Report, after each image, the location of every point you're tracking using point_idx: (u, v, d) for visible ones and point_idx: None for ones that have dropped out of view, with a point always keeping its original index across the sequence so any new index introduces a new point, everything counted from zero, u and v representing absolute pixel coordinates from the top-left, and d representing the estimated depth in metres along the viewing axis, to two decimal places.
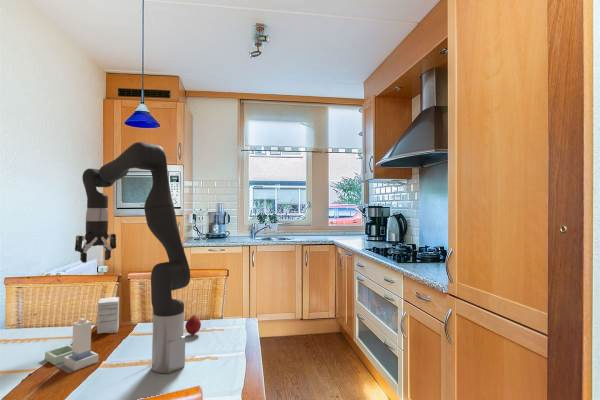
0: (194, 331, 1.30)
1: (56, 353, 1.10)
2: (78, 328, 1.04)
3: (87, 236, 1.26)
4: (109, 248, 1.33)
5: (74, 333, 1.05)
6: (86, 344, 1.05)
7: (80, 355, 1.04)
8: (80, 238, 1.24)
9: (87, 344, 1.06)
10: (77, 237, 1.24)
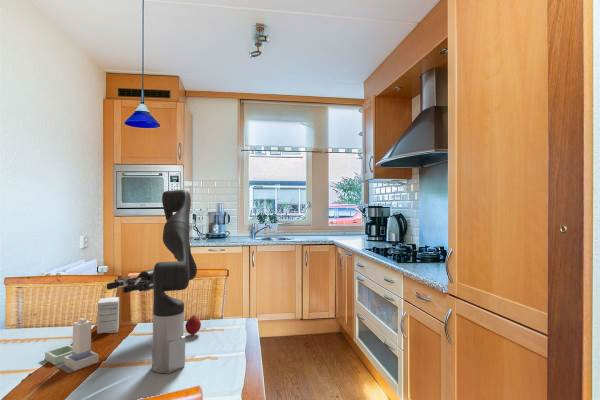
0: (194, 331, 1.30)
1: (56, 353, 1.10)
2: (78, 328, 1.04)
3: None
4: None
5: (74, 333, 1.05)
6: (86, 344, 1.05)
7: (80, 355, 1.04)
8: (127, 277, 1.27)
9: (87, 344, 1.06)
10: None
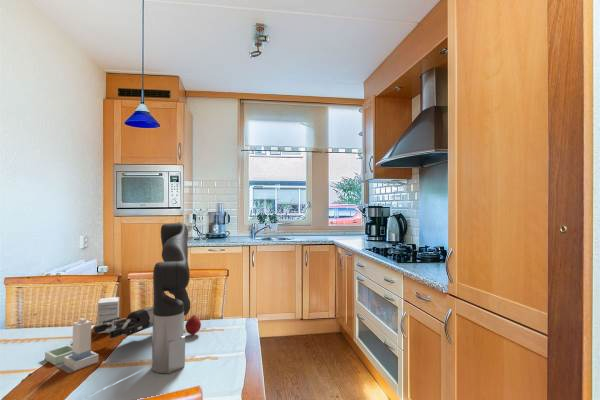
0: (194, 331, 1.30)
1: (56, 353, 1.10)
2: (78, 328, 1.04)
3: None
4: (123, 327, 1.14)
5: (74, 333, 1.05)
6: (86, 344, 1.05)
7: (80, 355, 1.04)
8: (116, 318, 1.23)
9: (87, 344, 1.06)
10: None
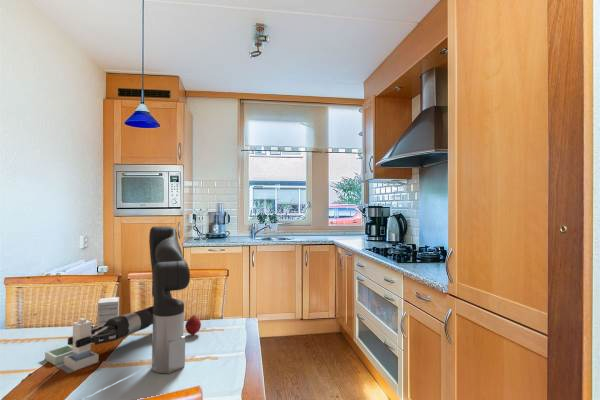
0: (194, 331, 1.30)
1: (56, 353, 1.10)
2: (78, 328, 1.04)
3: None
4: (91, 335, 1.07)
5: (74, 333, 1.05)
6: None
7: (80, 355, 1.04)
8: None
9: (87, 344, 1.06)
10: None
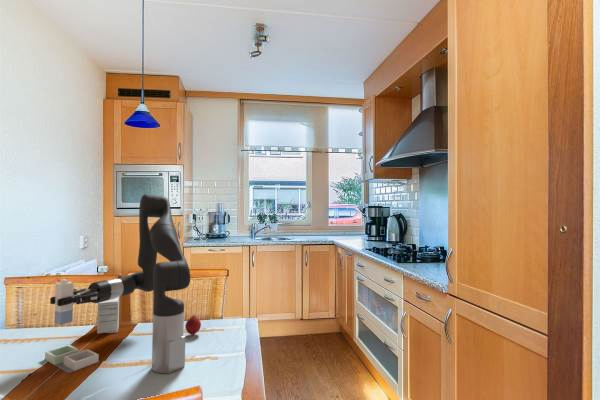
0: (194, 331, 1.30)
1: (56, 353, 1.10)
2: (60, 288, 1.08)
3: None
4: (73, 295, 1.10)
5: (56, 293, 1.08)
6: None
7: (62, 314, 1.08)
8: (73, 289, 1.18)
9: (69, 304, 1.09)
10: None
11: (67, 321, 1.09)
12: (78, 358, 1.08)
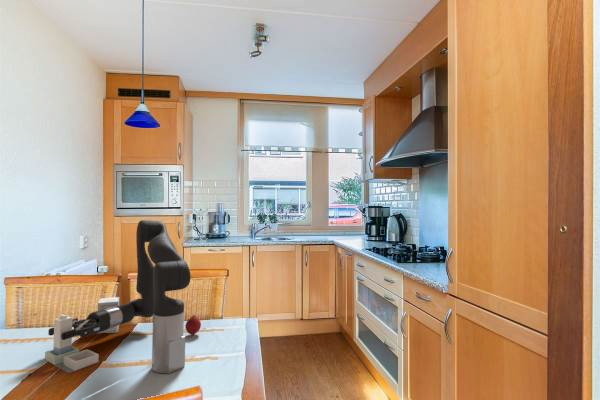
0: (194, 331, 1.30)
1: None
2: (59, 324, 1.07)
3: None
4: (77, 328, 1.10)
5: (55, 329, 1.08)
6: (67, 339, 1.09)
7: (60, 350, 1.07)
8: (74, 319, 1.19)
9: (68, 339, 1.09)
10: None
11: None
12: (78, 358, 1.08)
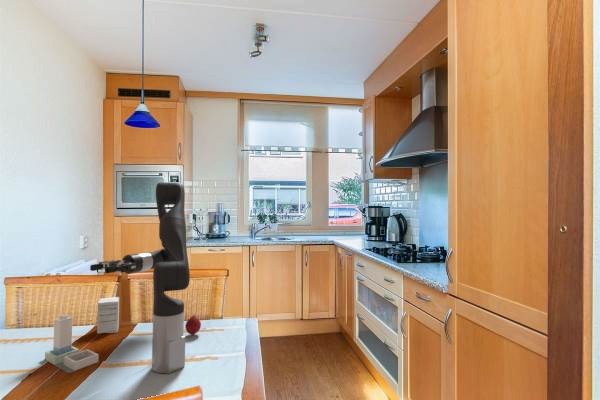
0: (194, 331, 1.30)
1: None
2: (59, 324, 1.07)
3: None
4: (118, 264, 1.22)
5: (55, 329, 1.08)
6: (67, 339, 1.09)
7: (60, 350, 1.07)
8: None
9: (68, 339, 1.09)
10: None
11: None
12: (78, 358, 1.08)
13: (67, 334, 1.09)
